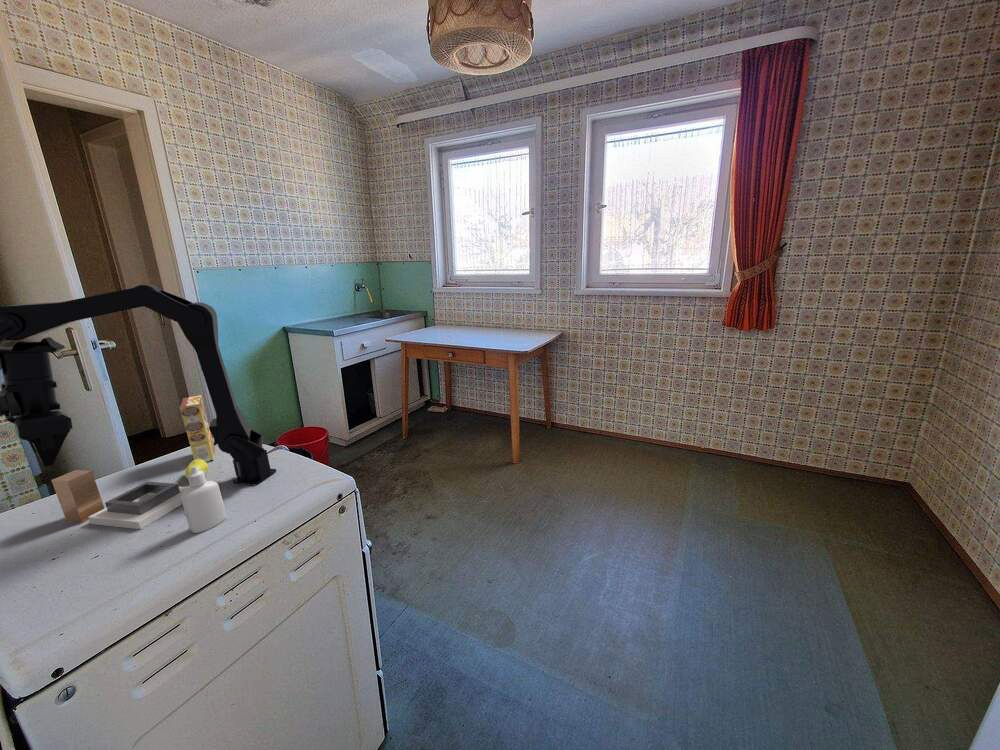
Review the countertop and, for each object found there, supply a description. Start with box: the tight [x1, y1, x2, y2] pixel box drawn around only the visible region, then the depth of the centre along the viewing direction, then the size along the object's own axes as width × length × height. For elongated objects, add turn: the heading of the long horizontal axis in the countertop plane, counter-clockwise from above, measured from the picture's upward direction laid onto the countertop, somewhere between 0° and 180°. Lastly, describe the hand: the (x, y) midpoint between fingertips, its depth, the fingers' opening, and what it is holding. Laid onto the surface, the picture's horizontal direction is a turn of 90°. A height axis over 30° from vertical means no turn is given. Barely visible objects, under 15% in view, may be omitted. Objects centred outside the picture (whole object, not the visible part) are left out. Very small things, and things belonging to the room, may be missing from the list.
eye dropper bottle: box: [181, 466, 227, 534], centre depth 75 cm, size 4×6×12 cm
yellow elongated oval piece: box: [184, 459, 209, 480], centre depth 95 cm, size 4×8×4 cm, turn 22°
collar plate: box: [88, 481, 190, 530], centre depth 82 cm, size 12×12×4 cm
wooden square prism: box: [50, 469, 106, 524], centre depth 80 cm, size 4×4×9 cm
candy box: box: [179, 395, 216, 462], centre depth 103 cm, size 9×4×15 cm, turn 33°
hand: (43, 458), depth 76 cm, fingers open, 9 cm apart
